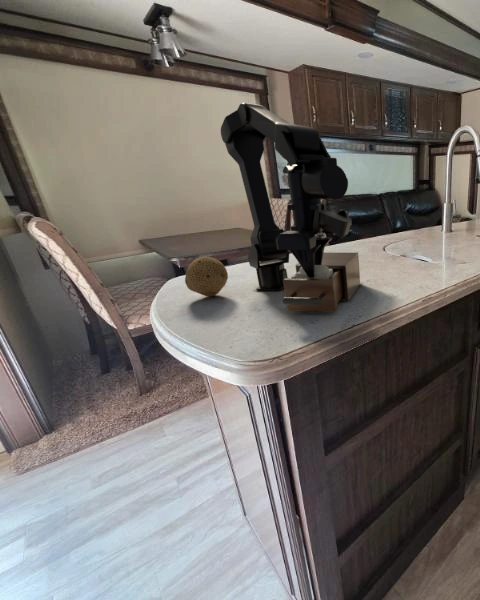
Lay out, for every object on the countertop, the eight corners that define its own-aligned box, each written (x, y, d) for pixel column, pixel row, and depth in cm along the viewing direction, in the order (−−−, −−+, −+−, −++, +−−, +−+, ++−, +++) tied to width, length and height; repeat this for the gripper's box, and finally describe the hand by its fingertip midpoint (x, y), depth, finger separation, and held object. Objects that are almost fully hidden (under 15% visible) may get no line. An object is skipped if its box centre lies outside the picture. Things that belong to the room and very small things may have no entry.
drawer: (329, 321, 61) (325, 287, 59) (277, 320, 62) (271, 287, 60) (349, 291, 77) (347, 264, 75) (308, 291, 78) (305, 264, 76)
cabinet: (348, 301, 73) (345, 265, 70) (300, 300, 74) (295, 265, 71) (360, 283, 86) (358, 252, 83) (318, 283, 87) (315, 252, 84)
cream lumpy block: (333, 276, 69) (331, 261, 68) (328, 282, 66) (326, 266, 65) (303, 276, 70) (301, 261, 69) (296, 281, 66) (294, 266, 65)
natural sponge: (236, 296, 78) (228, 257, 74) (195, 306, 72) (183, 263, 69) (226, 288, 84) (218, 251, 80) (187, 296, 78) (177, 257, 75)
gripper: (332, 200, 53) (340, 289, 58) (356, 195, 70) (360, 264, 76) (268, 201, 54) (281, 288, 59) (307, 196, 71) (315, 263, 76)
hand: (314, 274), depth 68 cm, fingers closed on cream lumpy block, 4 cm apart
